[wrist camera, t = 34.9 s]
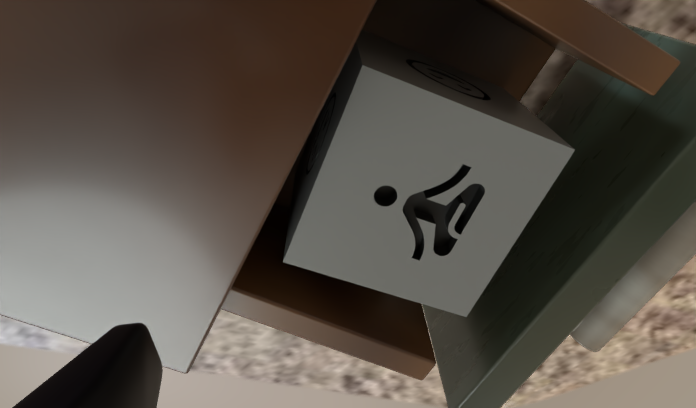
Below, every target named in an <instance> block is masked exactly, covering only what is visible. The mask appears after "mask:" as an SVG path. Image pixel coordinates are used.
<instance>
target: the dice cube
mask: <svg viewBox="0 0 696 408" xmlns="http://www.w3.org/2000/svg"><path fill="white" fill-rule="evenodd" d="M574 151H575V149H574V148H573V147H571V146H570V145H569V144H568V143H567V142H566V141H564V140H563V139H562V138H561V137H560V136H559V135H557V134H556V133H555V132H554V131H553V130H552V129H550V128H549V127H548V126H547V125H546V124H545V123H543V122H542V121H541V120H540V119H539V118H538V117H536V116H535V115H534V114H533V113H532V112H531V111H529V110H528V109H527V108H526V107H525V106H524V105H522V104H521V103H520V102H519V101H518V100H517V99H515V98H514V97H513V96H512V95H511V94H510V93H509V92H507V91H506V90H505V89H504V88H502V87H499V86H497V85H495V84H492V83H490V82H487V81H485V80H482V79H480V78H478V77H475V76H473V75H470V74H468V73H466V72H463V71H461V70H458V69H456V68H454V67H451V66H449V65H446V64H444V63H441V62H439V61H437V60H434V59H432V58H429V57H427V56H425V55H422V54H420V53H417V52H415V51H412V50H410V49H408V48H405V47H403V46H400V45H398V44H396V43H393V42H391V41H388V40H386V39H384V38H381V37H379V36H376V35H374V34H371V33H369V32H367V31H364V30H362V31H361V33H360V35H359V37H358V39H357V41H356V43H355V45H354V47H353V49H352V50H351V52H350V54H349V56H348V58H347V60H346V62H345V64H344V66H343V68H342V70H341V72H340V74H339V76H338V78H337V80H336V82H335V84H334V86H333V88H332V90H331V92H330V94H329V96H328V98H327V100H326V102H325V104H324V106H323V108H322V110H321V112H320V114H319V116H318V118H317V120H316V122H315V124H314V126H313V129H312V132H311V134H310V137H309V140H308V142H307V145H306V147H305V150H304V153H303V155H302V158H301V161H300V163H299V166H298V168H297V171H296V174H295V180H294V187H293V194H292V201H291V208H290V215H289V222H288V229H287V236H286V243H285V251H284V258H283V262H284V263H287V264H291V265H294V266H297V267H301V268H304V269H307V270H311V271H314V272H317V273H321V274H324V275H327V276H331V277H334V278H337V279H341V280H344V281H347V282H351V283H354V284H357V285H361V286H364V287H367V288H371V289H374V290H377V291H381V292H384V293H387V294H391V295H394V296H397V297H401V298H404V299H407V300H411V301H414V302H417V303H421V304H424V305H427V306H431V307H434V308H437V309H441V310H444V311H447V312H451V313H454V314H457V315H461V316H464V317H467V316H468V314H469V312H470V311H471V309H472V308H473V306H474V305H475V303H476V302H477V300H478V299H479V297H480V296H481V294H482V292H483V291H484V289H485V288H486V286H487V285H488V283H489V282H490V280H491V279H492V277H493V276H494V274H495V272H496V271H497V269H498V268H499V266H500V265H501V263H502V262H503V260H504V259H505V257H506V256H507V254H508V252H509V251H510V249H511V248H512V246H513V245H514V243H515V242H516V240H517V239H518V237H519V236H520V234H521V232H522V231H523V229H524V228H525V226H526V225H527V223H528V222H529V220H530V219H531V217H532V216H533V214H534V212H535V211H536V209H537V208H538V206H539V205H540V203H541V202H542V200H543V199H544V197H545V196H546V194H547V192H548V191H549V189H550V188H551V186H552V185H553V183H554V182H555V180H556V179H557V177H558V176H559V174H560V172H561V171H562V169H563V168H564V166H565V165H566V163H567V162H568V160H569V159H570V157H571V156H572V154H573V153H574Z"/></svg>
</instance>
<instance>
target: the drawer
mask: <svg viewBox="0 0 696 408" xmlns="http://www.w3.org/2000/svg"><path fill="white" fill-rule="evenodd" d="M362 30H364V31H367V32H369V33H371V34H374V35H376V36H379V37H381V38H384V39H386V40H388V41H391V42H393V43H396V44H398V45H400V46H403V47H405V48H408V49H410V50H412V51H415V52H417V53H420V54H422V55H425V56H427V57H429V58H432V59H434V60H437V61H439V62H441V63H444V64H446V65H449V66H451V67H454V68H456V69H458V70H461V71H463V72H466V73H468V74H470V75H473V76H475V77H478V78H480V79H482V80H485V81H487V82H490V83H492V84H495V85H497V86H499V87H502V88H504V89H505V90H506V91H507V92H509V93H510V94H511V95H512V96H513V97H514V98H515V99H517V100H518V101H520V100H521V98H522V97H523V95H524V94H525V92H526V91H527V89H528V88H529V86H530V85H531V84H532V82H533V81H534V79H535V78H536V76H537V75H538V73H539V72H540V70H541V69H542V68H543V66H544V65H545V63H546V62H547V60H548V59H549V57H550V56H551V55H552V53H553V52H554V50H555V49H558V50H560V51H562V52H564V53H566V54H568V55H570V56H572V57H574V58H576V59H577V61H576V62H575V64H574V65H573V66H572V68H571V69H570V71H569V72H568V73H567V75H566V76H565V78H564V79H563V80H562V82H561V83H560V85H559V86H558V87H557V89H556V90H555V92H554V93H553V94H552V96H551V97H550V99H549V100H548V101H547V103H546V104H545V106H544V107H543V108H542V110H541V111H540V113H539V114H538V115H537V117H538V118H539V119H540V120H541V121H542V122H543V123H545V124H546V125H547V126H548V127H549V128H550V129H552V130H553V131H554V132H555V133H556V134H557V135H559V136H560V137H561V138H562V139H563V140H564V141H566V142H567V143H568V144H569V145H570V146H571V147H573V148H574V149H575V151H574V153H573V154H572V156H571V157H570V159H569V160H568V162H567V163H566V165H565V166H564V168H563V169H562V171H561V172H560V174H559V176H558V177H557V179H556V180H555V182H554V183H553V185H552V186H551V188H550V189H549V191H548V192H547V194H546V196H545V197H544V199H543V200H542V202H541V203H540V205H539V206H538V208H537V209H536V211H535V212H534V214H533V216H532V217H531V219H530V220H529V222H528V223H527V225H526V226H525V228H524V229H523V231H522V232H521V234H520V236H519V237H518V239H517V240H516V242H515V243H514V245H513V246H512V248H511V249H510V251H509V252H508V254H507V256H506V257H505V259H504V260H503V262H502V263H501V265H500V266H499V268H498V269H497V271H496V272H495V274H494V276H493V277H492V279H491V280H490V282H489V283H488V285H487V286H486V288H485V289H484V291H483V292H482V294H481V296H480V297H479V299H478V300H477V302H476V303H475V305H474V306H473V308H472V309H471V311H470V312H469V314H468V316H467V317H464V316H461V315H457V314H454V313H451V312H447V311H444V310H441V309H437V308H434V307H431V306H427V305H424V304H422V305H421V303H417V302H414V301H411V300H407V299H404V298H401V297H397V296H394V295H391V294H387V293H384V292H381V291H377V290H374V289H371V288H367V287H364V286H361V285H357V284H354V283H351V282H347V281H344V280H341V279H337V278H334V277H331V276H327V275H324V274H321V273H317V272H314V271H311V270H307V269H304V268H301V267H297V266H294V265H291V264H287V263H284V262H283V258H284V251H285V243H286V236H287V229H288V222H289V215H290V208H291V201H292V194H293V187H294V180H295V174H296V171H297V168H298V166H299V163H300V161H301V158H302V155H303V153H304V150H305V147H306V145H307V142H308V140H309V137H310V134H311V132H312V130H311V132H310V133H309V135H308V137H307V139H306V141H305V143H304V145H303V147H302V149H301V151H300V153H299V155H298V157H297V159H296V161H295V163H294V165H293V167H292V169H291V171H290V173H289V175H288V177H287V179H286V181H285V183H284V185H283V187H282V189H281V191H280V193H279V195H278V197H277V199H276V201H275V203H274V205H273V207H272V209H271V211H270V213H269V215H268V217H267V218H266V220H265V222H264V224H263V226H262V228H261V230H260V232H259V234H258V236H257V238H256V240H255V242H254V244H253V246H252V248H251V250H250V252H249V254H248V256H247V258H246V260H245V262H244V264H243V266H242V268H241V270H240V272H239V274H238V276H237V278H236V280H235V282H234V284H233V286H232V288H231V290H230V292H229V294H228V296H227V298H226V300H225V302H224V303H223V305H222V307H221V309H222V310H225V311H228V312H231V313H234V314H236V315H239V316H242V317H245V318H248V319H250V320H253V321H256V322H259V323H262V324H264V325H267V326H270V327H273V328H276V329H278V330H281V331H284V332H287V333H290V334H292V335H295V336H298V337H301V338H304V339H306V340H309V341H312V342H315V343H318V344H320V345H323V346H326V347H329V348H332V349H334V350H337V351H340V352H343V353H346V354H348V355H351V356H354V357H357V358H360V359H362V360H365V361H368V362H371V363H374V364H376V365H379V366H382V367H385V368H388V369H390V370H393V371H396V372H399V373H402V374H404V375H407V376H410V377H413V378H416V379H418V380H423V379H424V378H425V377H426V376H427V374H428V373H429V372H430V371H431V369H432V368H433V367H434V366H435V364H436V361H437V365H438V369H439V373H440V377H441V381H442V384H443V388H444V392H445V396H446V400H447V404H448V408H501V407H502V405H503V404H504V403H505V402H506V401H507V400H508V399H509V398H510V397H511V396H512V395H513V394H514V393H515V392H516V391H517V390H518V389H519V387H520V386H521V385H522V384H523V383H524V382H525V381H526V380H527V379H528V378H529V377H530V376H531V375H532V374H533V373H534V372H535V370H536V369H537V368H538V367H539V366H540V365H541V364H542V363H543V362H544V361H545V360H546V359H547V358H548V357H549V356H550V355H551V354H552V352H553V351H554V350H555V349H556V348H557V347H558V346H559V345H560V344H561V343H562V342H563V341H564V340H565V339H566V338H567V337H568V335H569V334H570V335H571V336H572V337H573V338H574V339H575V340H576V341H577V342H578V343H579V344H580V345H582V346H583V347H585V348H586V349H588V350H590V351H593V352H597V351H599V350H600V349H601V348H602V347H603V346H604V345H605V344H606V343H607V342H608V341H609V340H610V339H611V338H612V337H613V336H614V335H615V334H616V333H617V332H618V331H619V330H620V329H621V328H622V327H623V326H624V325H625V324H626V323H627V322H628V321H629V320H630V319H631V318H632V317H633V316H634V315H635V314H636V313H637V312H638V311H639V310H640V309H641V308H642V307H643V306H644V305H645V304H646V303H647V302H648V301H649V300H650V299H651V298H652V297H653V296H654V295H655V294H656V293H657V292H658V291H659V290H660V289H661V288H662V287H663V286H664V285H665V284H666V283H667V282H668V281H669V280H670V279H671V278H672V277H673V276H674V275H675V274H676V273H677V272H678V271H679V270H680V269H681V268H682V267H683V266H684V265H685V264H686V263H687V262H688V261H689V260H690V259H691V258H692V257H693V256H694V255H695V254H696V44H692V43H689V42H685V41H682V40H679V39H675V38H672V37H668V36H665V35H662V34H658V33H655V32H651V31H648V30H644V29H641V28H638V27H634V26H631V25H627V24H624V23H620V22H618V21H617V20H615V19H614V18H612V17H610V16H609V15H607V14H606V13H604V12H603V11H601V10H599V9H598V8H596V7H595V6H593V5H592V4H590V3H589V2H587V1H585V0H377V1H376V3H375V5H374V7H373V9H372V11H371V13H370V15H369V17H368V19H367V21H366V23H365V25H364V27H363V29H362ZM312 129H313V128H312ZM422 306H423V309H422ZM423 310H424V313H425V316H424V313H423ZM425 317H426V320H425ZM426 321H427V324H426ZM427 325H428V328H427ZM428 329H429V332H428ZM429 333H430V336H429ZM430 337H431V340H430ZM431 341H432V344H431ZM432 345H433V348H432ZM433 349H434V352H433ZM434 353H435V356H434ZM435 357H436V360H435Z"/></svg>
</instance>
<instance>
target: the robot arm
mask: <svg viewBox="0 0 696 408" xmlns="http://www.w3.org/2000/svg"><path fill="white" fill-rule="evenodd" d="M161 379H162V362H161V359H160V356H159V354H158V352H157V349H156V347H155V344H154V342H153V340H152V337H151V335H150V332H149V330H148V328H147V327H146V326H145V325H144V324H143V323H130V324H122V325H117V326H115V327H113V328H112V329H110V330H109V331H108V332H107V333H105V334H104V335H103V336H102V337H100V338H99V339H98V340H97V341H95V342H94V343H93V344H92V345H90V346H89V347H88V348H87V349H85V350H84V351H83V352H82V353H80V354H79V355H78V356H77V357H75V358H74V359H73V360H72V361H70V362H69V363H68V364H67V365H65V366H64V367H63V368H62V369H60V370H59V371H58V372H57V373H55V374H54V375H53V376H51V377H50V378H49V379H48V380H46V381H45V382H44V383H43V384H42V385H40V386H39V387H38V388H37V389H35V390H34V391H33V392H31V393H30V394H29V395H28V396H26V397H25V398H24V399H23V400H21V401H20V402H19V403H18V404H16V405H15V406H14V407H13V408H156V406H157V401H158V396H159V390H160V385H161Z"/></svg>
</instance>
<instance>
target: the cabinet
mask: <svg viewBox="0 0 696 408" xmlns="http://www.w3.org/2000/svg"><path fill="white" fill-rule="evenodd" d="M376 1H377V0H0V315H2V316H5V317H8V318H12V319H15V320H18V321H21V322H24V323H27V324H30V325H34V326H37V327H40V328H43V329H46V330H49V331H52V332H56V333H59V334H62V335H65V336H68V337H71V338H75V339H78V340H81V341H84V342H87V343H90V344H93V343H94V342H95V341H97V340H98V339H99V338H100V337H102V336H103V335H104V334H105V333H107V332H108V331H109V330H110V329H112V328H113V327H115V326H117V325H122V324H130V323H143V324H144V325H145V326H146V327H147V328H148V330H149V332H150V335H151V337H152V340H153V342H154V344H155V347H156V349H157V352H158V354H159V356H160V359H161V362H162V366H163V367H166V368H169V369H172V370H175V371H178V372H182V373H188V372H189V371H190V369H191V367H192V365H193V363H194V361H195V359H196V357H197V355H198V353H199V351H200V349H201V347H202V345H203V343H204V341H205V339H206V337H207V335H208V333H209V331H210V329H211V327H212V325H213V323H214V321H215V319H216V317H217V315H218V313H219V311H220V309H221V307H222V305H223V303H224V302H225V300H226V298H227V296H228V294H229V292H230V290H231V288H232V286H233V284H234V282H235V280H236V278H237V276H238V274H239V272H240V270H241V268H242V266H243V264H244V262H245V260H246V258H247V256H248V254H249V252H250V250H251V248H252V246H253V244H254V242H255V240H256V238H257V236H258V234H259V232H260V230H261V228H262V226H263V224H264V222H265V220H266V218H267V217H268V215H269V213H270V211H271V209H272V207H273V205H274V203H275V201H276V199H277V197H278V195H279V193H280V191H281V189H282V187H283V185H284V183H285V181H286V179H287V177H288V175H289V173H290V171H291V169H292V167H293V165H294V163H295V161H296V159H297V157H298V155H299V153H300V151H301V149H302V147H303V145H304V143H305V141H306V139H307V137H308V135H309V133H310V132H311V130H312V128H313V126H314V124H315V122H316V120H317V118H318V116H319V114H320V112H321V110H322V108H323V106H324V104H325V102H326V100H327V98H328V96H329V94H330V92H331V90H332V88H333V86H334V84H335V82H336V80H337V78H338V76H339V74H340V72H341V70H342V68H343V66H344V64H345V62H346V60H347V58H348V56H349V54H350V52H351V50H352V49H353V47H354V45H355V43H356V41H357V39H358V37H359V35H360V33H361V31H362V29H363V27H364V25H365V23H366V21H367V19H368V17H369V15H370V13H371V11H372V9H373V7H374V5H375V3H376Z"/></svg>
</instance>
